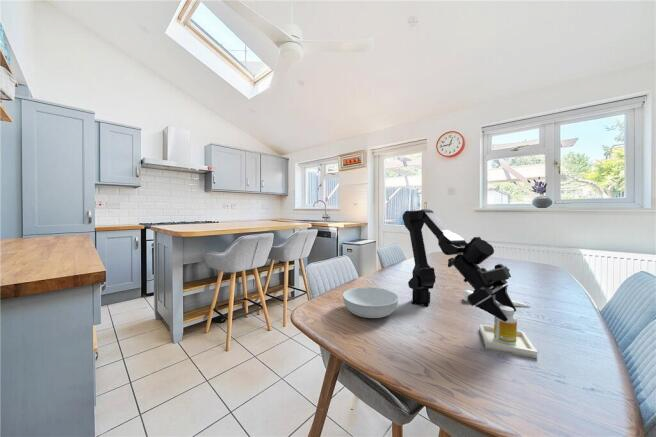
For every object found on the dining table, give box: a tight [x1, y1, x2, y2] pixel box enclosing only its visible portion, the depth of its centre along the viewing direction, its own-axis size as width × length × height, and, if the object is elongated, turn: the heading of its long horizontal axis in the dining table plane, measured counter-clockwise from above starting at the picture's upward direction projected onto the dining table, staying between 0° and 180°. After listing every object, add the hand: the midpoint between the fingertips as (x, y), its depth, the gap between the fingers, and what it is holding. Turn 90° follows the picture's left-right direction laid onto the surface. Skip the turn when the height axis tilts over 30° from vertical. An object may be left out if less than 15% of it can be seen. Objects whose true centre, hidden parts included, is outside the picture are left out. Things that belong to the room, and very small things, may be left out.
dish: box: [479, 323, 538, 359], centre depth 72 cm, size 12×12×2 cm
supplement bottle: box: [493, 304, 518, 344], centre depth 72 cm, size 5×5×10 cm
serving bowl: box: [342, 286, 399, 319], centre depth 93 cm, size 21×21×7 cm
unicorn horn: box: [463, 289, 531, 308], centre depth 101 cm, size 5×24×5 cm, turn 68°
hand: (511, 315), depth 71 cm, fingers open, 9 cm apart
